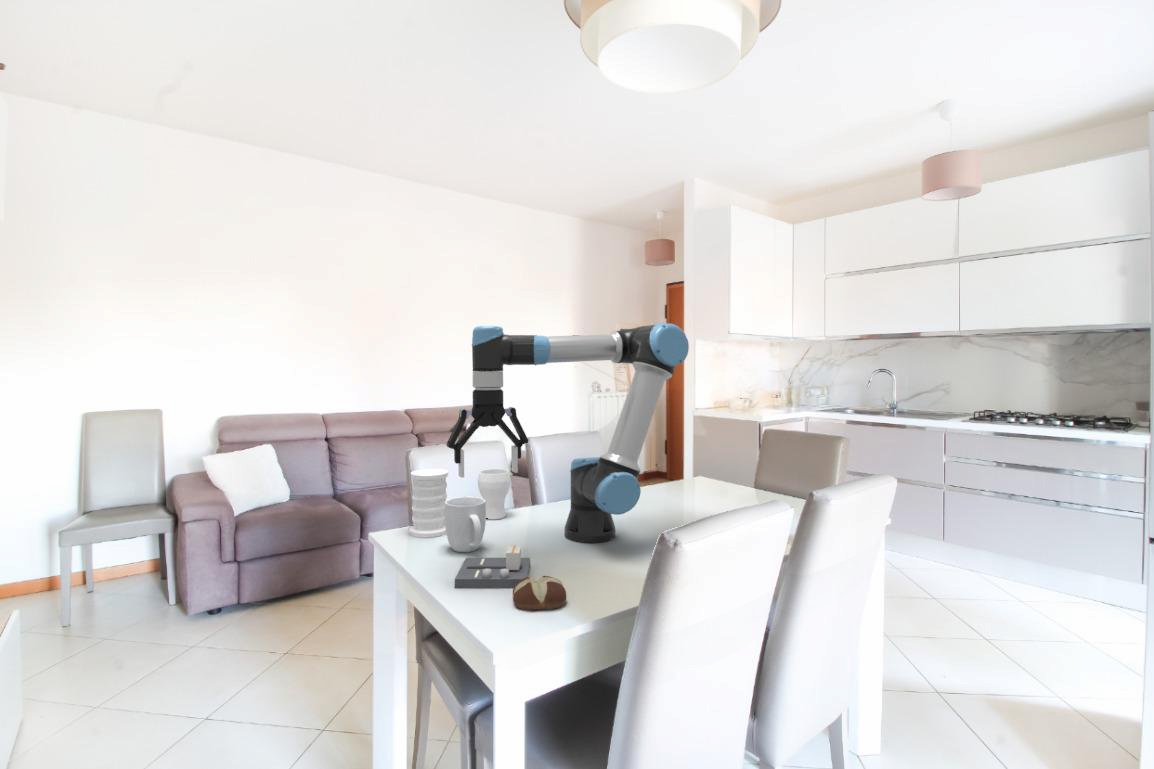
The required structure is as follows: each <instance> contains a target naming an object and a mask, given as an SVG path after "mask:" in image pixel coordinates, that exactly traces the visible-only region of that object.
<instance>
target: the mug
mask: <svg viewBox="0 0 1154 769" xmlns="http://www.w3.org/2000/svg"><path fill="white" fill-rule="evenodd" d="M486 520H487V519H486V501H485V499H483V498H482V497H478V496H457V497H451V498H449V499H446V501H445V529H446V534H445V535H446V537H447V538H446V539H447V541H448V543H449V546H450V547H451V549H452V551H455V552H457V553H469V552H474V551H476V550H477V549H478V548H479V547H480V545H481V543H482V540H483V538H484V534H485V530H486V522H487V521H486Z"/></svg>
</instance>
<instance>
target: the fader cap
mask: <svg viewBox="0 0 1154 769" xmlns="http://www.w3.org/2000/svg"><path fill="white" fill-rule="evenodd" d="M505 558H506V569H509V570H519V568H520V564H521V558H522V546H521V545H508V547H507V550H506V552H505Z"/></svg>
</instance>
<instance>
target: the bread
mask: <svg viewBox="0 0 1154 769" xmlns="http://www.w3.org/2000/svg"><path fill="white" fill-rule="evenodd" d="M512 599H513V603H514V605H515V606H516V607H517V608H519V609H521V610H526V611H528V610H529V611H534V610H549V609H550V610H551V609H553V610H554V609H558V608H560V607H562V606H563V605H564V604H565V603H566V600H567V591H566V588H565V587H564V585H563V582H562V581H561V580H559V579H558V578H556V577H553V576H550V575H549V576H548V575H541V576H539V577H537V579H536V580H535V579H534V578H532V577H530V576H528V577H526V578H523V579H521V580H520V581H519V582H517V583H516V585H515V586H514V588H512Z"/></svg>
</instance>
